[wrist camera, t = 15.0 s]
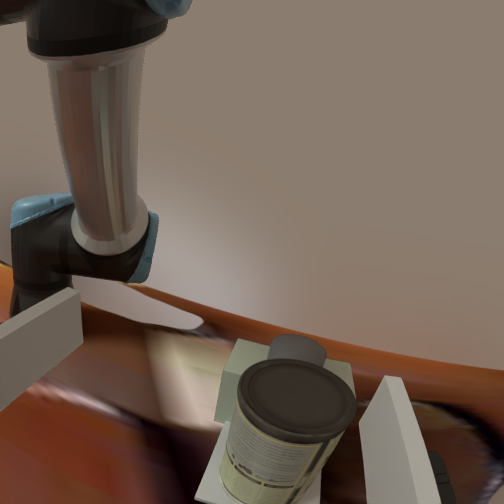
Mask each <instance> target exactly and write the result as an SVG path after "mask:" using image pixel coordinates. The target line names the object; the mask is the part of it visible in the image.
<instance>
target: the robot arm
mask: <svg viewBox="0 0 504 504" xmlns="http://www.w3.org/2000/svg"><path fill="white" fill-rule="evenodd" d="M191 3H192V0H0V26H1V25H6V24H12V23H17V22H24V21H26V26H27V42H28V50H29V53H30V54H31V55H32V56H34V57H35V58H38V59H40V60H42V61H44V62H46V63H47V67H48V77H49V86H50V94H51V101H52V108H53V114H54V120H55V125H56V131H57V136H58V141H59V146H60V151H61V155H62V159H63V164H64V168H65V172H66V176H67V180H68V184H69V188H70V191H71V194H67V193H55V194H45V195H37V196H31V197H27V198H23V199H20V200H18V201H17V202H16V203H15V204H14V205H13V208H12V216H11V225H10V229H11V252H12V267H13V279H14V287H13V292H12V298H11V304H10V312H9V313H10V319H9V320H7V321H5V322H3V323H0V412H1V411H2V410H3V409H4V408H5V407H7V406H8V405H9V404H10V403H11V402H12V401H14V400H15V399H16V398H17V397H18V396H19V395H21V394H22V393H23V392H24V391H25V390H26V389H28V388H29V387H30V386H31V385H32V384H34V383H35V382H36V381H37V380H38V379H40V378H41V377H42V376H43V375H44V374H46V373H47V372H48V371H49V370H50V369H52V368H53V367H54V366H55V365H57V364H58V363H59V362H60V361H61V360H63V359H64V358H65V357H66V356H68V355H69V354H70V353H71V352H73V351H74V350H75V349H76V348H77V347H79V346H80V345H81V344H82V343H84V341H83V331H82V309H81V302H80V292H79V291H77V290H75V289H74V287H73V284H72V275H77V276H83V277H90V278H97V279H105V280H111V281H119V282H123V283H126V284H127V283H143V282H145V281H146V280H147V278H148V276H149V272H150V268H151V263H152V257H153V253H154V248H155V243H156V237H157V231H158V224H159V218H158V215H157V214H155V213H152V212H150V211H148V210H147V207H146V205H145V203H144V202H143V200H142V199H141V198H140V196H138V195H137V147H138V121H139V106H140V92H141V80H142V71H143V62H144V53H145V48H146V47H147V46H149V45H150V44H151V43H153V42H154V41H156V40H157V39H159V38H160V37H161V36H163V34H164V33H165V31H166V28H167V23H168V19H173V18H175V17H180V16H182V15H184V14H186V13H187V11H188V10H189V8H190V5H191ZM359 430H360V437H361V445H362V454H363V463H364V473H365V483H366V495H367V504H457V503H456V499H455V496H454V492H453V489H452V485H451V484H450V479H449V476H448V475H447V473H448V472H447V469H446V466H445V463H444V461H443V459H442V458H441V457H440V456H439V454H438V453H437V452H436V451H427V450H426V447H425V444H424V441H423V438H422V435H421V432H420V429H419V426H418V423H417V420H416V417H415V414H414V411H413V408H412V405H411V403H410V400H409V397H408V394H407V392H406V389H405V386H404V384H403V381H402V379H401V378H400V377H393V376H386V375H385V376H384V378H383V380H382V382H381V383H380V385H379V387H378V389H377V391H376V393H375V395H374V397H373V398H372V400H371V402H370V404H369V406H368V407H367V409H366V411H365V413H364V414H363V416H362V418H361V420H360V421H359Z"/></svg>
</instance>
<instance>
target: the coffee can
mask: <svg viewBox="0 0 504 504" xmlns="http://www.w3.org/2000/svg"><path fill="white" fill-rule="evenodd" d="M356 411H357V402H356V398H355V396H354V393H353V392H352V390H351V388H350V387H349V386H348V385H347V383H346V382H345V381H343V380H342V379H341V378H340V377H338V376H337V375H336V374H334V373H332V372H331V371H329V370H327V369H325V368H323V367H321V366H319V365H316V364H313V363H310V362H306V361H302V360H297V359H288V358H277V359H269V360H264V361H260V362H258V363H255V364H253V365H251V366H250V367H248V368H247V369H246V370H245V371H244V372H243V373H242V375H241V377H240V379H239V382H238V388H237V398H236V402H235V407H234V411H233V415H232V420H231V424H230V429H229V433H228V437H227V442H226V446H225V450H224V454H223V459H222V463H221V465H220V468H219V480H220V483H221V486H222V488H223V490H224V491H225V493H226V494H227V495H228V496H229V497H230V498H231V499H232V500H233V501H235V502H236V503H238V504H297V503H298V502H299V501H300V500H301V499H302V498H303V497H304V495H305V493H306V491H307V490H308V488H309V487H310V485H311V484H312V483H313V481H314V480H315V478H316V477H317V475H318V474H319V472H320V471H321V469H322V467H323V466H324V464H325V463H326V461H327V460H328V458H329V456H330V455H331V453H332V452H333V450H334V448H335V447H336V445H337V443H338V442H339V440H340V438H341V436H342V435H343V433H344V431H345V429H347V427H348V426H349V425H350V423H351V422H352V420H353V419H354V417H355V414H356Z"/></svg>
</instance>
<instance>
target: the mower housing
mask: <svg viewBox="0 0 504 504" xmlns="http://www.w3.org/2000/svg"><path fill="white" fill-rule="evenodd" d="M277 358H288V359H297V360H302V361H306V362H310V363H313V364H316V365H319V366H321V367H323V368H325V369H327V370H329V371H331V372H332V373H334V374H336V375H337V376H338V377H340V378H341V379H342V380H343V381H345V382H346V383H347V385H348V386H349V387H350V388H351V390H352V392H353V393H354V396H355V398H356V395H355V389H354V383H353V377H352V372H351V366H350V363H346V362H341V361H335V360H330V359H326V358H327V352H326V350H325V349H324V347H323V346H322V345H320V344H319V343H318V342H316V341H314V340H312V339H310V338H308V337H305V336H301V335H295V334H283V335H279V336H276V337H275V338H273V340H272V341H271V345H270V346H266V345H262V344H258V343H254V342H250V341H246V340H243V339H239V338H238V340H237V342H236V344H235V346H234V348H233V350H232V352H231V354H230V357H229V359H228V361H227V363H226V365H225V367H224V369H223V373H222V378H221V384H220V389H219V395H218V400H217V406H216V411H215V417H214V421H217V422H220V423H224V426H223V428H222V431H221V434H220V436H219V439H218V441H217V444H216V446H215V449H214V451H213V454H212V456H211V459H210V461H209V464H208V466H207V469H206V471H205V474H204V476H203V478H202V481H201V483H200V486H199V488H198V491H197V493H196V495H195V500H198V501H201V502H205V503H208V504H238V503H236V502H235V501H233V500H232V499H231V498H230V497H229V496H228V495H227V494H226V493H225V491H224V490H223V488H222V486H221V483H220V480H219V468H220V465H221V463H222V459H223V454H224V450H225V446H226V442H227V437H228V433H229V429H230V424H231V420H232V415H233V411H234V407H235V402H236V398H237V388H238V382H239V379H240V377H241V375H242V373H243V372H244V371H245V370H246V369H247V368H248V367H250V366H251V365H253V364H255V363H258V362H260V361H264V360H269V359H277ZM320 487H321V471H320V472H319V474H318V475H317V477H316V478H315V480H314V481H313V483H312V484H311V485H310V487H309V488H308V490H307V491H306V493H305V495H304V497H303V498H302V499H301V500H300V501H299V502H298V503H297V504H320Z"/></svg>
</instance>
